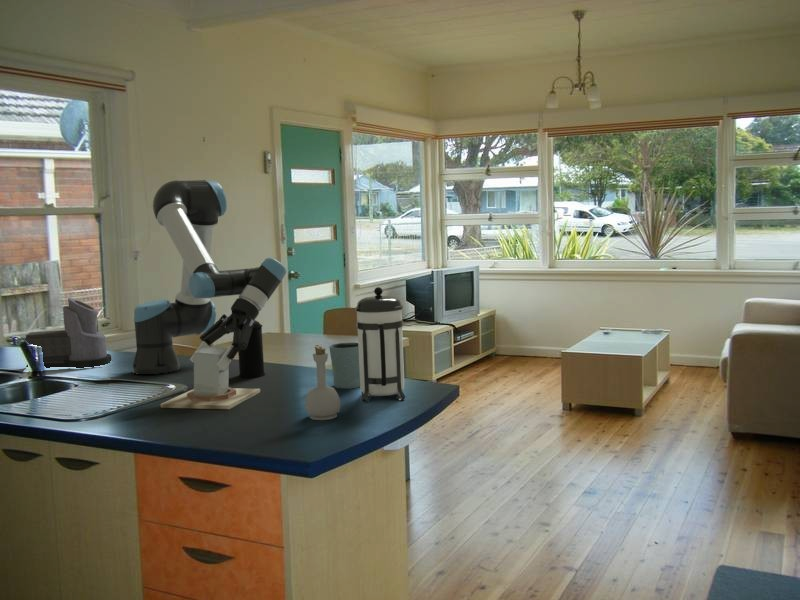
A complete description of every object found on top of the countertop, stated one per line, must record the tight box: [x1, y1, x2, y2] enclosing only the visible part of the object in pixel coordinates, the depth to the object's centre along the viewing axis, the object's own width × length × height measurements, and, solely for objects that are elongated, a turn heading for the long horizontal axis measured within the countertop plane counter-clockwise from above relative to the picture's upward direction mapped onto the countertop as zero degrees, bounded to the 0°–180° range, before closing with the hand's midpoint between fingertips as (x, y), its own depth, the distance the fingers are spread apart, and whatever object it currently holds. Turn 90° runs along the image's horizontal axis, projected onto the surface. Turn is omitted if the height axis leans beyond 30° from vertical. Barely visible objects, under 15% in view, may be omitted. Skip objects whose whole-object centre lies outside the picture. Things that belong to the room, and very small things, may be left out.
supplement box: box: [193, 346, 230, 396], centre depth 221 cm, size 7×7×13 cm
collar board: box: [160, 386, 261, 410], centre depth 222 cm, size 20×20×2 cm
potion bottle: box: [304, 344, 342, 421], centre depth 198 cm, size 9×9×18 cm
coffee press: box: [354, 286, 406, 403], centre depth 215 cm, size 17×16×30 cm
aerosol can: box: [237, 319, 266, 379], centre depth 254 cm, size 8×8×20 cm
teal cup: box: [328, 342, 360, 389], centre depth 234 cm, size 10×10×12 cm
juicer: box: [24, 297, 112, 368], centre depth 283 cm, size 30×16×24 cm, turn 103°
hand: (206, 365), depth 220 cm, fingers open, 13 cm apart
